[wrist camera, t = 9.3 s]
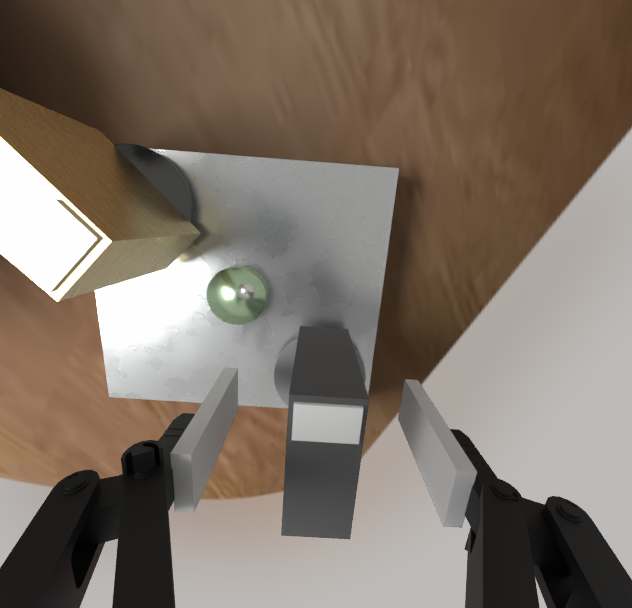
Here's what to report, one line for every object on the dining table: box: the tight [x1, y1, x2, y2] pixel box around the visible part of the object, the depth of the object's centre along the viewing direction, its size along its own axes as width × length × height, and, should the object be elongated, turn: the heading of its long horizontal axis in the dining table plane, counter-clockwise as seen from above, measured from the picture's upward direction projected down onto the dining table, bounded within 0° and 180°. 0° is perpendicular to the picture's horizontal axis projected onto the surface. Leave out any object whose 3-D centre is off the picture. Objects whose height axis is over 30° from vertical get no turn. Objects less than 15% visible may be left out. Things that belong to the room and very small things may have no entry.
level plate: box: [95, 149, 399, 408], centre depth 19 cm, size 18×16×3 cm
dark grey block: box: [274, 326, 369, 539], centre depth 16 cm, size 7×6×8 cm
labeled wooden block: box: [0, 88, 201, 302], centre depth 13 cm, size 7×6×8 cm
